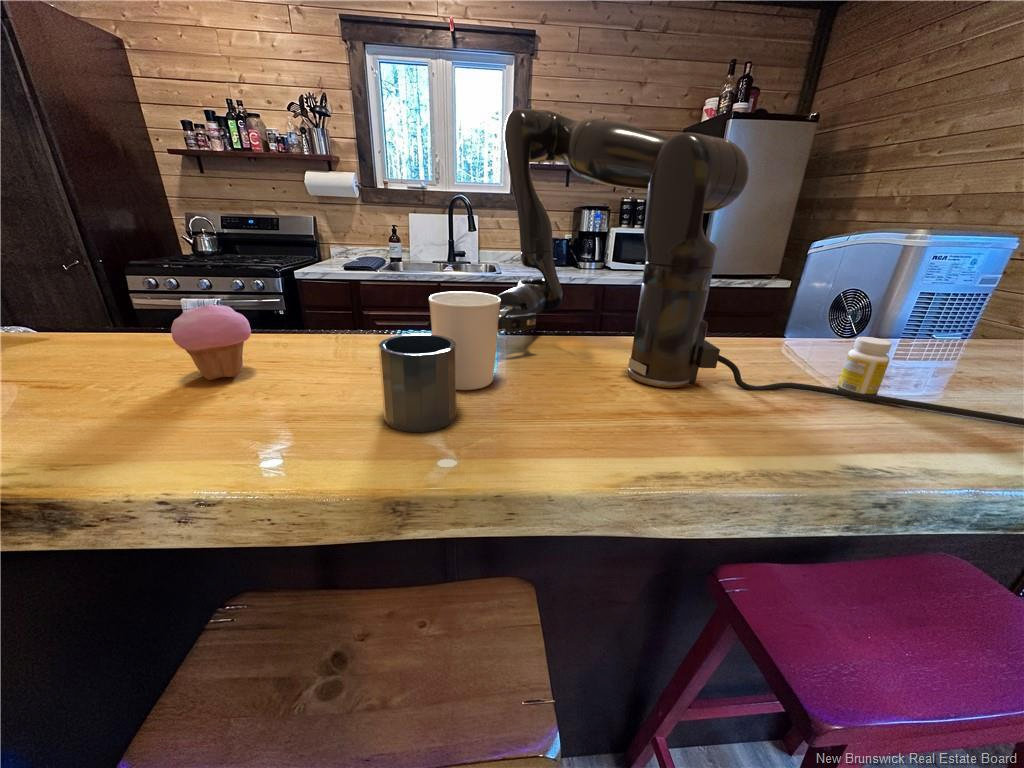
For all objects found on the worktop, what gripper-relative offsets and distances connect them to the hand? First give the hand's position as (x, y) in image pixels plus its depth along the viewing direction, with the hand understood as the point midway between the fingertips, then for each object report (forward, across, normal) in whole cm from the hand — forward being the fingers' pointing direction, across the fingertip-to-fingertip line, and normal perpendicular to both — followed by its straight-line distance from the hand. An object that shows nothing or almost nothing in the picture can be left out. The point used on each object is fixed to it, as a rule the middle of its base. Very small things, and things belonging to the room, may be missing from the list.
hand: (482, 328), depth 68 cm
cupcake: (+20, -32, +6) cm, 38 cm away
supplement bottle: (-11, +55, +6) cm, 57 cm away
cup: (+20, 0, +6) cm, 21 cm away
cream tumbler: (+7, 0, +6) cm, 9 cm away
